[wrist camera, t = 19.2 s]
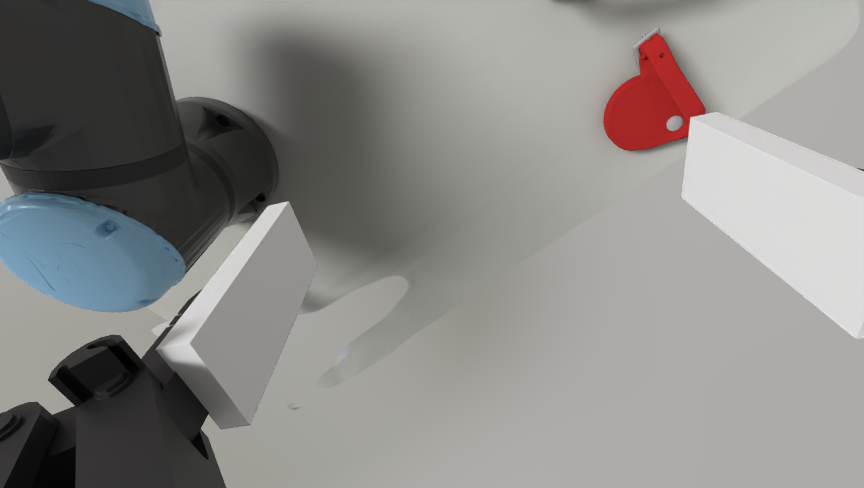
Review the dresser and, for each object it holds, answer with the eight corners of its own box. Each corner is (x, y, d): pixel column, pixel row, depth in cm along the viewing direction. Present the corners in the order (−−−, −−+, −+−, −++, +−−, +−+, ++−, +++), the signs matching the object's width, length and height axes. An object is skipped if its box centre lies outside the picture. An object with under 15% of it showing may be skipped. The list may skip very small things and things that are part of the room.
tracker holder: (584, 136, 47) (661, 156, 48) (597, 147, 44) (681, 168, 45) (634, 21, 41) (720, 47, 43) (654, 22, 38) (749, 51, 39)
